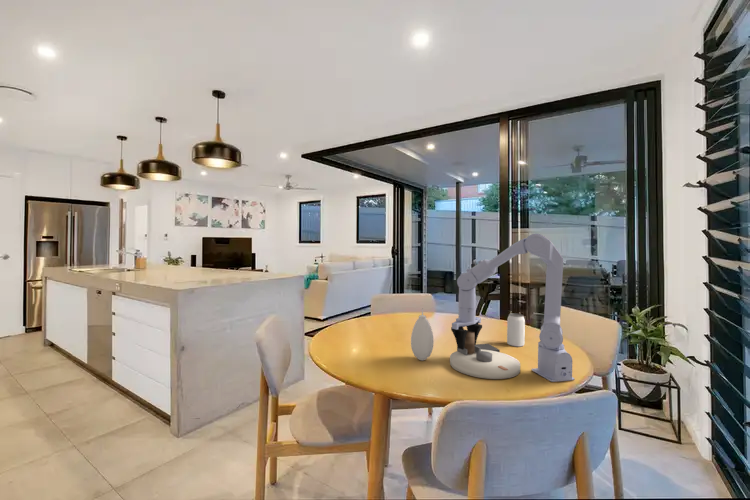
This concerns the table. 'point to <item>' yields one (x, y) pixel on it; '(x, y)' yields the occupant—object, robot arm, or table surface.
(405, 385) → the table surface
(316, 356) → the table surface
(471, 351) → the pin
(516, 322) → the can
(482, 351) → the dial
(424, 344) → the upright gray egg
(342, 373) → the table surface
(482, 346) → the mat
